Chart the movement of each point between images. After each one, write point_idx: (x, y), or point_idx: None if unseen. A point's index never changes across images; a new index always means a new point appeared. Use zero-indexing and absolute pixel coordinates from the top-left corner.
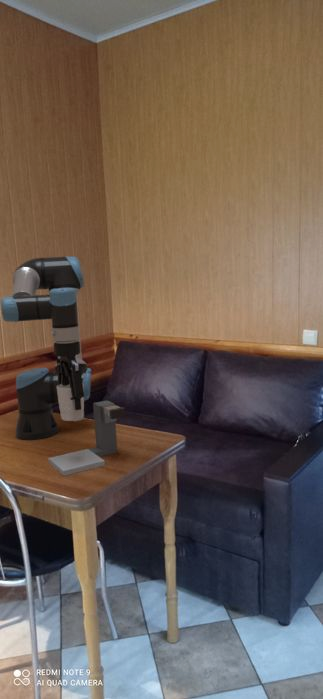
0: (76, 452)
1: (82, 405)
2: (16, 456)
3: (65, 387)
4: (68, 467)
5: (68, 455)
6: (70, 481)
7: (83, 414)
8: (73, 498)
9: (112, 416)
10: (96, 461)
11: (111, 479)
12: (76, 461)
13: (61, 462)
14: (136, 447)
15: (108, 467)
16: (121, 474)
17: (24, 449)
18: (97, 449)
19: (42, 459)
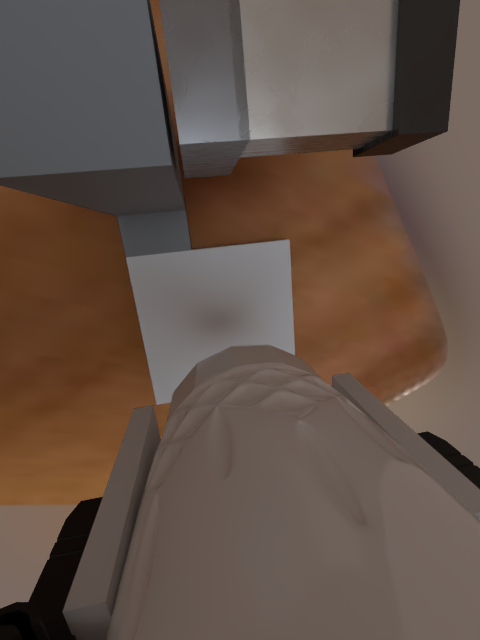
0: (147, 308)
1: (358, 410)
2: (41, 476)
3: None
4: None
5: (165, 341)
6: (336, 364)
7: (295, 359)
8: (431, 377)
9: (408, 145)
10: (279, 268)
11: (395, 259)
12: (240, 329)
13: None
14: (158, 27)
15: (305, 234)
16: (382, 218)
17: None
18: (154, 223)
19: (114, 408)
